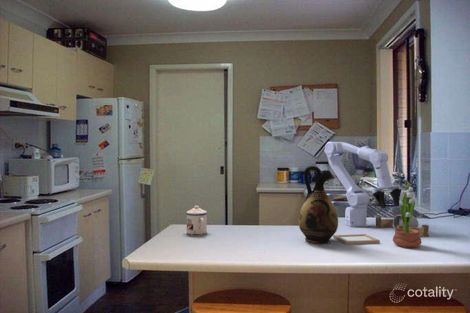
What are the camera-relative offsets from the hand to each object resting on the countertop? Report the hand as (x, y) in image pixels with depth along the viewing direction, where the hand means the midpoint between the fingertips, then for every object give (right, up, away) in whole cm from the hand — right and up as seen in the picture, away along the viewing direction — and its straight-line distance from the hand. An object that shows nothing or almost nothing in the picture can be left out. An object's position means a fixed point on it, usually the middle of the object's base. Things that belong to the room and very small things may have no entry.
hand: (390, 207), depth 171 cm
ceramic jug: (-37, -11, -18) cm, 43 cm away
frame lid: (-21, -11, -18) cm, 30 cm away
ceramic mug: (+6, -11, +1) cm, 13 cm away
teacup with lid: (-85, -11, -6) cm, 86 cm away
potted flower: (-4, -12, -26) cm, 29 cm away
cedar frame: (+5, -11, +1) cm, 12 cm away
